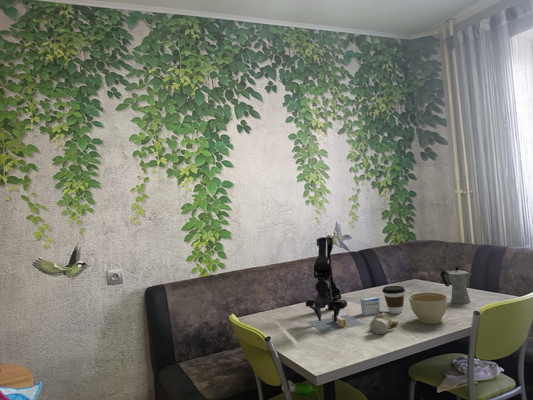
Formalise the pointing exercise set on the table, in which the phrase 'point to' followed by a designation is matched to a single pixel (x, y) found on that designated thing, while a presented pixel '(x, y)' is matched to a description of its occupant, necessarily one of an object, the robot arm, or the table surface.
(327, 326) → the dial board
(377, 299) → the medicine box
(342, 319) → the white and tan block
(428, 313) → the planter bowl
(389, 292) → the coffee cup
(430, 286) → the table surface
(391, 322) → the ceramic sculpture
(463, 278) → the coffeepot
